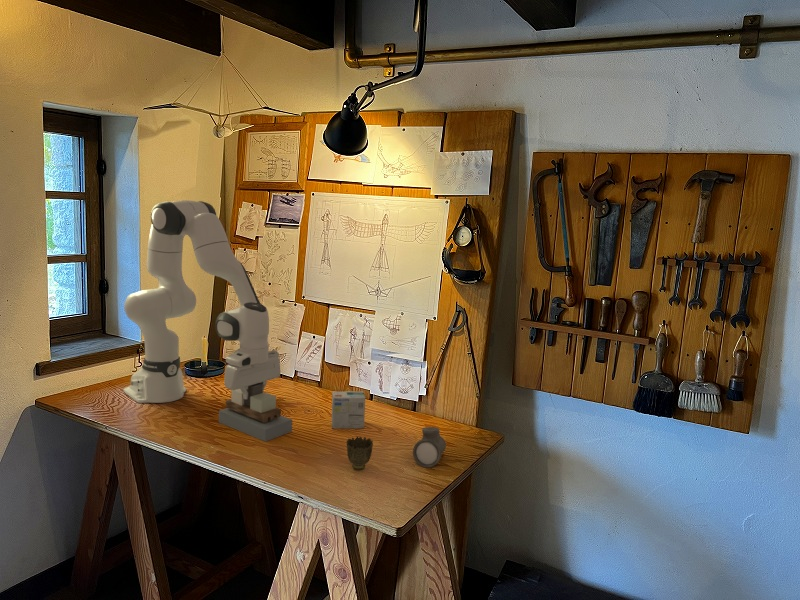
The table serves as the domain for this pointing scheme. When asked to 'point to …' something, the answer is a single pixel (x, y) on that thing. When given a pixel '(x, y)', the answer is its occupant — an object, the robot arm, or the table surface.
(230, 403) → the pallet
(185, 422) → the table surface
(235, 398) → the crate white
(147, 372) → the robot arm
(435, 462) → the pipe fitting
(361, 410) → the light bulb box
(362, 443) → the cup
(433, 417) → the table surface
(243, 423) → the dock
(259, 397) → the crate sage
